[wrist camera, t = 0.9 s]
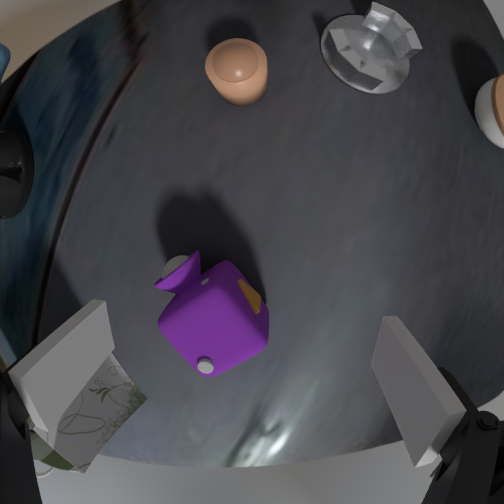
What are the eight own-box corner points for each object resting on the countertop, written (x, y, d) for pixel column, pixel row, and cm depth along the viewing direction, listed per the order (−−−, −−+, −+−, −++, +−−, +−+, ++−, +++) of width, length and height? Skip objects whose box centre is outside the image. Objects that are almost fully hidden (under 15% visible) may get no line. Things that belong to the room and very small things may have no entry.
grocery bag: (53, 410, 49) (6, 472, 26) (19, 363, 46) (-39, 420, 24) (149, 400, 44) (99, 504, 22) (105, 337, 41) (21, 432, 19)
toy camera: (201, 226, 35) (176, 245, 26) (282, 299, 37) (285, 340, 28) (151, 284, 38) (118, 318, 28) (227, 348, 40) (215, 395, 30)
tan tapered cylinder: (207, 85, 31) (191, 64, 23) (242, 53, 29) (235, 26, 22) (241, 116, 32) (234, 100, 24) (278, 83, 30) (280, 60, 23)
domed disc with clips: (300, 45, 29) (304, 27, 24) (359, 4, 26) (369, -14, 21) (370, 112, 30) (385, 103, 25) (423, 65, 28) (440, 54, 23)
